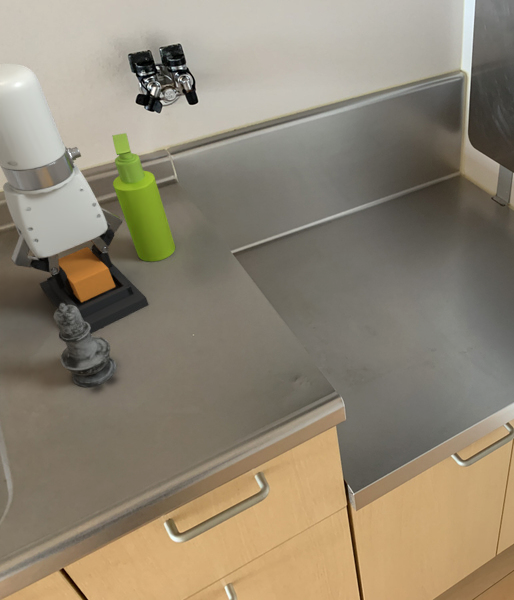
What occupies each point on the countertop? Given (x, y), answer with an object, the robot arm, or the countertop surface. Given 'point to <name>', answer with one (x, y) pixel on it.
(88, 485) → the countertop surface
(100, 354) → the grey chess piece
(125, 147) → the soap dispenser
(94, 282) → the orange block
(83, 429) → the countertop surface
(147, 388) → the countertop surface
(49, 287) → the black tray
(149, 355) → the countertop surface
